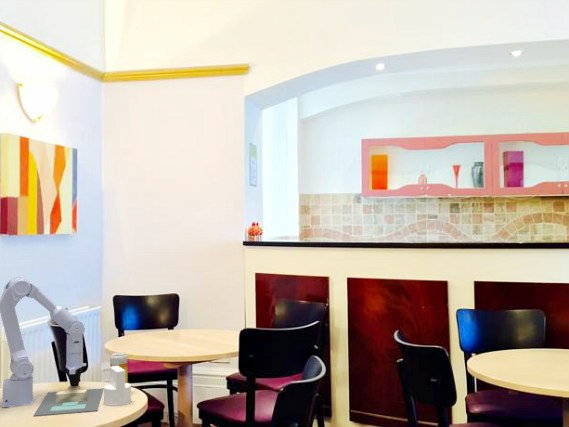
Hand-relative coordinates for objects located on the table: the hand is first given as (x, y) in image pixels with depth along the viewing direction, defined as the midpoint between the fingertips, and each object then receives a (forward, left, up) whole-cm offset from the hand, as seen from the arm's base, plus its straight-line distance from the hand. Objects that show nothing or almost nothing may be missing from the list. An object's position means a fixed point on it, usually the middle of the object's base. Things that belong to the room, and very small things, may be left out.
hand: (74, 389), depth 212 cm
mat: (0, -9, -2) cm, 10 cm away
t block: (0, -6, -2) cm, 6 cm away
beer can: (+16, -4, -2) cm, 17 cm away
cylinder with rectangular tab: (+16, -15, -2) cm, 22 cm away
